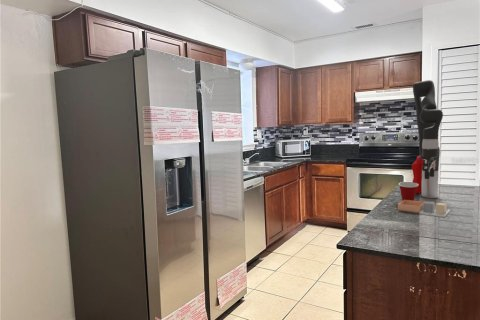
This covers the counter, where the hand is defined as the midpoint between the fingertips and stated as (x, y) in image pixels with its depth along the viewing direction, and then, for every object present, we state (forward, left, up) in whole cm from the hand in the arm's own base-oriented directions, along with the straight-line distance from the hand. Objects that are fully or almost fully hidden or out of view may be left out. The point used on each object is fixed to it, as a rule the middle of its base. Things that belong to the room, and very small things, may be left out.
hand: (429, 177), depth 176 cm
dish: (0, -9, -19) cm, 21 cm away
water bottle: (-50, -18, -19) cm, 56 cm away
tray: (0, +3, -19) cm, 19 cm away
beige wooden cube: (0, +6, -19) cm, 19 cm away
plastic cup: (-15, -15, -19) cm, 28 cm away
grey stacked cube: (0, 0, -19) cm, 19 cm away
